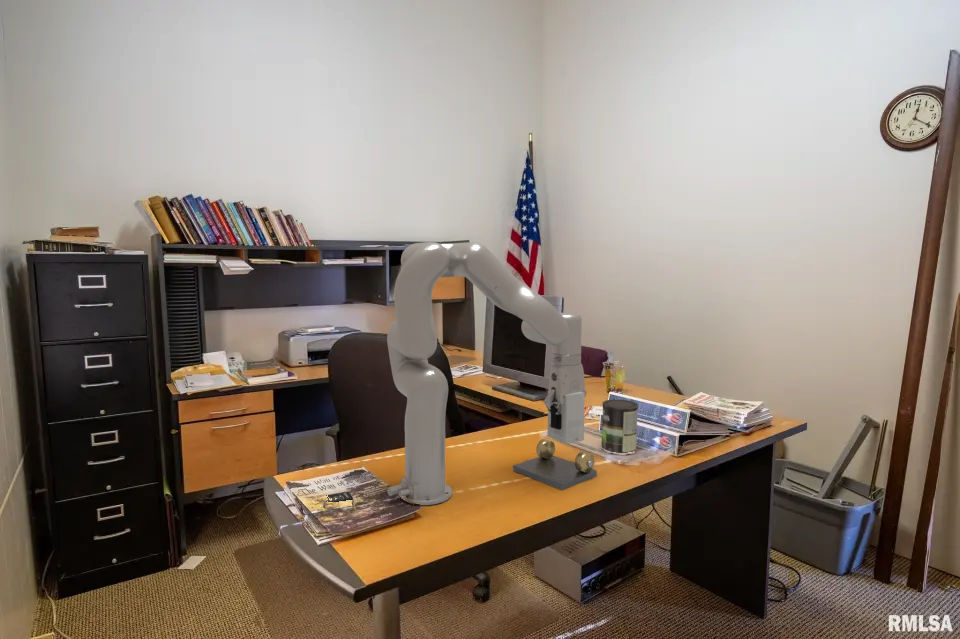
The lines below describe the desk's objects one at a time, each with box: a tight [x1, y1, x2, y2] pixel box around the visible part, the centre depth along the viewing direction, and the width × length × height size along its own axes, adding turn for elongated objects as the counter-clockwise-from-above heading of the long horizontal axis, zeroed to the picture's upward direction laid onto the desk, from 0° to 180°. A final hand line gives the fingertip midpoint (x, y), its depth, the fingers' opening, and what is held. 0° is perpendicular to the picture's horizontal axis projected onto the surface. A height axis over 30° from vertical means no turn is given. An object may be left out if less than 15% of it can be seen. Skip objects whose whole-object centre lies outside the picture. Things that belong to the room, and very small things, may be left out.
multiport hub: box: [325, 490, 354, 502], centre depth 129 cm, size 4×11×2 cm, turn 116°
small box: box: [547, 389, 585, 445], centre depth 151 cm, size 8×6×13 cm
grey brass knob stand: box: [512, 438, 598, 491], centre depth 150 cm, size 14×18×6 cm
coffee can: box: [601, 398, 639, 453], centre depth 169 cm, size 10×10×14 cm
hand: (565, 424), depth 152 cm, fingers closed on small box, 7 cm apart
